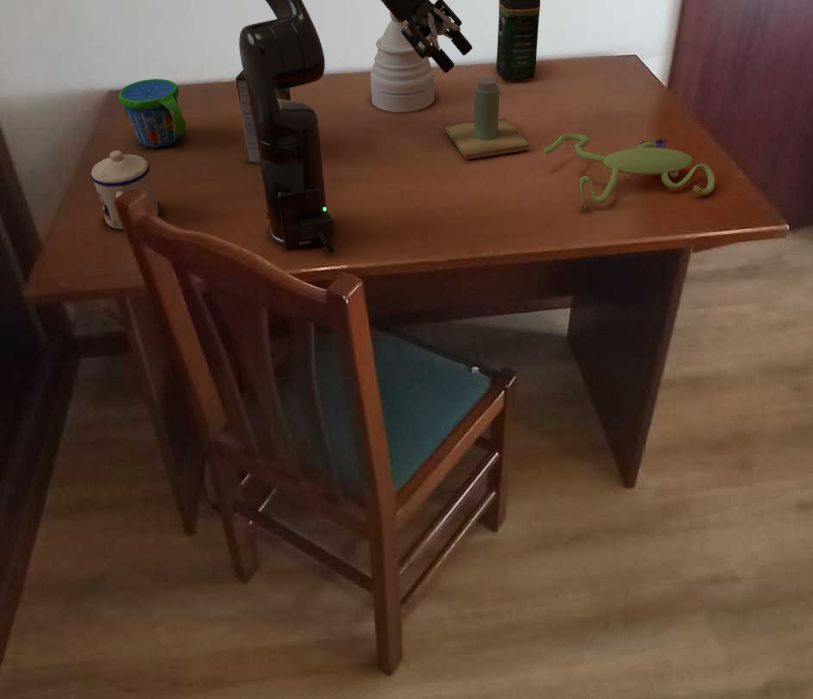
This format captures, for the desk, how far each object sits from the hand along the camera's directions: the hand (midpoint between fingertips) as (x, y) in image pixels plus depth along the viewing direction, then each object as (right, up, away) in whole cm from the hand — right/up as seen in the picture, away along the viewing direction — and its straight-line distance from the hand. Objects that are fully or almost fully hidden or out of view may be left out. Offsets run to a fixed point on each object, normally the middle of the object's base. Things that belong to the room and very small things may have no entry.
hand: (459, 60), depth 153 cm
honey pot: (-10, 0, +24) cm, 26 cm away
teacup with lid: (-55, -30, -10) cm, 63 cm away
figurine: (+28, -22, -5) cm, 36 cm away
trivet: (+5, -13, +8) cm, 16 cm away
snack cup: (-57, -11, +13) cm, 59 cm away
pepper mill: (+5, -11, +7) cm, 14 cm away
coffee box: (-34, -15, +7) cm, 38 cm away
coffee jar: (+14, +7, +32) cm, 35 cm away
